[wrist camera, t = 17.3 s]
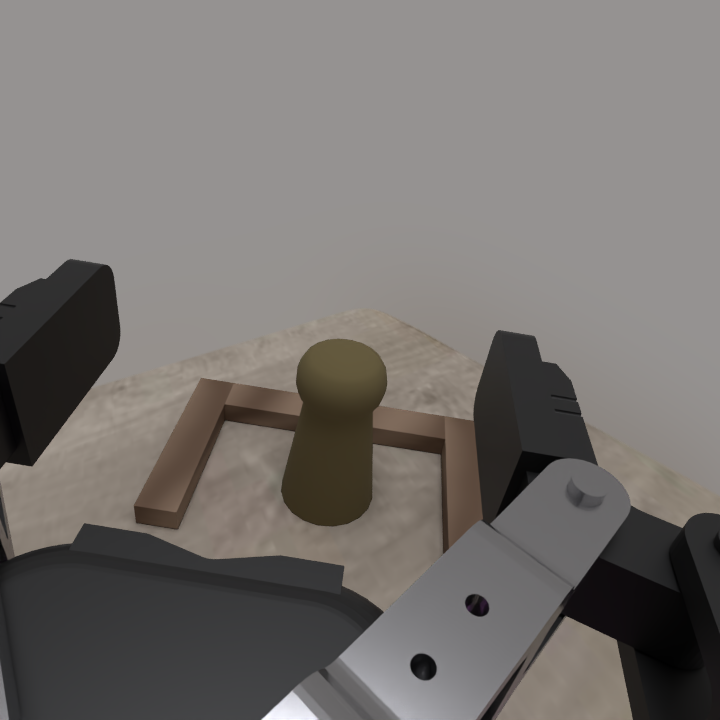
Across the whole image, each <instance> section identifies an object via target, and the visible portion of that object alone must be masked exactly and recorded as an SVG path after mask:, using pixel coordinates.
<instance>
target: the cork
mask: <svg viewBox="0 0 720 720" xmlns="http://www.w3.org/2000/svg"><path fill="white" fill-rule="evenodd" d="M296 385H297V389H298V393H299V395H300V398H301V400H302V401H303V404H302V408H301V412H300V416H299V419H298V423H297V427H296V431H295V435H294V439H293V442H292V446H291V450H290V454H289V458H288V462H287V465H286V469H285V473H284V477H283V481H282V489H281V492H282V496H283V499H284V502H285V504H286V505H287V506H288V508H289V509H290V510H291V512H292V513H294V514H295V515H297V516H298V517H300V518H301V519H302V520H304V521H307V522H310V523H313V524H316V525H323V526H337V525H342V524H347V523H349V522H351V521H353V520H355V519H357V518H359V517H360V516H361V515H362V514H363V513H364V512H365V511H366V510H367V509H368V507H369V505H370V502H371V500H372V454H373V411H374V410H375V409H376V408H377V407H378V406H379V404H380V402H381V400H382V398H383V396H384V394H385V392H386V387H387V374H386V367H385V365H384V363H383V361H382V360H381V358H380V356H379V354H378V353H377V352H375V351H374V350H373V349H372V348H370V347H368V346H366V345H364V344H362V343H360V342H356V341H353V340H346V339H330V340H325V341H322V342H318V343H317V344H315V345H313V346H312V347H310V348H309V349H308V351H307V352H306V353H305V354H304V355H303V357H302V358H301V360H300V362H299V365H298V369H297V377H296Z"/></svg>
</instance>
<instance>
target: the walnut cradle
mask: <svg viewBox="0 0 720 720" xmlns="http://www.w3.org/2000/svg"><path fill="white" fill-rule="evenodd" d="M302 404H303V401H302V400H301V398H300V395H299V393H293V392H287V391H280V390H274V389H268V388H261V387H255V386H249V385H242V384H236V383H230V382H223V381H217V380H211V379H204V378H201V379H200V381H199V383H198V385H197V387H196V389H195V391H194V393H193V394H192V396H191V398H190V400H189V402H188V404H187V406H186V408H185V410H184V412H183V413H182V415H181V417H180V419H179V421H178V423H177V425H176V427H175V429H174V431H173V432H172V434H171V436H170V438H169V440H168V442H167V444H166V446H165V448H164V449H163V451H162V453H161V455H160V457H159V459H158V461H157V463H156V465H155V467H154V468H153V470H152V472H151V474H150V476H149V478H148V480H147V482H146V484H145V486H144V487H143V489H142V491H141V493H140V495H139V497H138V499H137V501H136V503H135V504H134V510H135V517H136V523H142V524H149V525H155V526H161V527H167V528H174V529H178V527H179V525H180V523H181V520H182V518H183V516H184V513H185V511H186V509H187V506H188V504H189V502H190V499H191V497H192V495H193V492H194V490H195V488H196V486H197V483H198V481H199V479H200V476H201V474H202V472H203V469H204V467H205V465H206V462H207V460H208V458H209V455H210V453H211V451H212V448H213V446H214V444H215V441H216V439H217V437H218V434H219V432H220V430H221V428H222V425H223V423H224V421H225V420H229V421H235V422H242V423H248V424H254V425H261V426H267V427H273V428H280V429H286V430H292V431H296V427H297V423H298V419H299V416H300V412H301V408H302ZM373 443H375V444H381V445H387V446H394V447H400V448H406V449H412V450H419V451H425V452H431V453H438V454H441V468H442V513H443V554H444V553H445V552H446V551H447V550H448V549H449V548H450V547H451V546H452V545H453V544H454V543H455V542H456V541H457V540H458V539H459V538H460V537H461V536H463V535H464V534H465V533H466V532H467V531H468V530H469V529H470V528H471V527H472V526H473V525H474V524H475V523H476V522H478V521H480V520H482V519H483V515H482V504H481V493H480V482H479V471H478V460H477V449H476V438H475V427H474V421H471V420H464V419H458V418H452V417H445V416H439V415H433V414H426V413H420V412H413V411H407V410H401V409H394V408H388V407H382V406H378V407H377V408H376V409H375V410H374V411H373Z"/></svg>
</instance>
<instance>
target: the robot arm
mask: <svg viewBox="0 0 720 720" xmlns="http://www.w3.org/2000/svg"><path fill="white" fill-rule="evenodd" d="M119 341H120V322H119V314H118V306H117V298H116V290H115V282H114V276H113V272H112V269H111V268H110V267H109V266H108V265H104V264H98V263H92V262H86V261H79V260H73V259H70V260H67V261H66V262H65V263H64V264H62V265H61V266H60V267H59V268H58V269H57V270H56V271H55V272H54V273H52V274H51V276H49V277H48V278H47V279H42V278H41V279H38V280H36V281H34V282H31V283H29V284H27V285H24V286H22V287H20V288H17V289H16V290H15V291H14V292H12V293H11V294H10V295H9V296H8V297H7V298H5V299H4V300H3V301H2V302H1V303H0V469H1V467H2V466H3V465H4V464H5V462H8V463H14V464H20V465H26V466H33V465H34V463H35V462H36V461H37V459H38V458H39V457H40V455H41V454H42V453H43V451H44V450H45V449H46V447H47V446H48V445H49V443H50V442H51V441H52V439H53V438H54V437H55V435H56V434H57V433H58V431H59V430H60V429H61V427H62V426H63V425H64V423H65V422H66V421H67V419H68V418H69V417H70V415H71V414H72V413H73V411H74V410H75V409H76V407H77V406H78V405H79V403H80V402H81V401H82V399H83V398H84V397H85V395H86V394H87V393H88V391H89V390H90V389H91V387H92V386H93V385H94V383H95V382H96V381H97V379H98V378H99V376H100V375H101V374H102V373H103V371H104V370H105V369H106V367H107V366H108V364H109V363H110V362H111V361H112V359H113V358H114V356H115V354H116V352H117V349H118V346H119ZM576 400H577V398H576V395H575V392H574V388H573V385H572V382H571V380H570V379H569V378H568V377H567V376H566V375H565V373H564V372H563V371H562V370H561V369H560V368H559V367H558V365H557V364H554V363H548V362H542V360H541V356H540V352H539V348H538V345H537V341H536V338H535V337H534V336H531V335H525V334H519V333H513V332H507V331H501V330H498V331H497V332H496V334H495V336H494V339H493V341H492V344H491V347H490V351H489V354H488V357H487V360H486V363H485V366H484V369H483V373H482V376H481V379H480V382H479V385H478V388H477V392H476V397H475V403H474V427H475V438H476V449H477V460H478V471H479V482H480V493H481V504H482V515H483V519H482V520H480V521H478V522H476V523H475V524H474V525H473V526H472V527H471V528H470V529H469V530H468V531H467V532H466V533H465V534H464V535H463V536H461V537H460V538H459V539H458V540H457V541H456V542H455V543H454V544H453V545H452V546H451V547H450V548H449V549H448V550H447V551H446V552H445V553H444V554H443V555H442V556H441V557H440V558H439V559H438V560H437V561H436V562H435V563H434V564H433V565H432V566H431V567H430V568H429V569H428V570H427V571H426V572H425V573H424V574H423V575H422V576H421V577H420V578H419V579H418V580H417V581H416V582H415V583H414V584H413V585H412V586H411V587H410V588H408V589H407V590H406V591H405V592H404V593H403V594H402V595H401V596H400V597H399V598H398V599H397V600H396V601H395V602H394V603H393V604H392V605H391V606H390V607H389V608H388V609H387V610H386V611H385V612H383V611H382V610H381V609H380V608H378V607H377V606H376V605H374V604H373V603H372V602H370V601H369V600H368V599H366V598H364V597H363V596H361V595H359V594H357V593H356V592H354V591H352V590H350V589H347V588H345V587H343V586H342V579H343V572H344V566H341V565H335V564H329V563H323V562H317V561H311V560H305V559H299V558H293V557H287V556H281V555H280V556H264V557H248V558H231V559H207V558H204V557H201V556H199V555H196V554H194V553H192V552H189V551H187V550H185V549H182V548H180V547H178V546H175V545H173V544H171V543H168V542H166V541H164V540H161V539H159V538H157V537H154V536H152V535H150V534H146V533H140V532H134V531H128V530H122V529H116V528H110V527H104V526H98V525H91V524H85V523H84V525H83V526H82V528H81V530H80V531H79V533H78V535H77V536H76V538H75V540H74V542H73V543H72V544H63V545H57V546H50V547H46V548H42V549H38V550H34V551H31V552H28V553H25V554H22V555H19V556H16V557H15V555H14V550H13V545H12V540H11V535H10V530H9V524H8V519H7V514H6V509H5V504H4V498H3V493H2V488H1V483H0V720H496V718H497V717H498V715H499V714H500V712H501V710H502V709H503V707H504V706H505V704H506V703H507V701H508V700H509V698H510V697H511V695H512V694H513V692H514V691H515V689H516V688H517V686H518V685H519V683H520V682H521V680H522V679H523V678H524V676H525V675H526V673H527V672H528V670H529V669H530V668H531V666H532V665H533V663H534V662H535V661H536V659H537V658H538V656H539V655H540V653H541V652H542V651H543V649H544V648H545V646H546V645H547V643H548V642H549V641H550V639H551V638H552V636H553V635H554V634H555V632H556V631H557V629H558V628H559V626H560V625H561V624H562V622H563V621H564V619H565V618H566V616H567V617H570V618H572V619H574V620H576V621H578V622H580V623H582V624H584V625H586V626H589V627H591V628H593V629H595V630H597V631H599V632H601V633H603V634H606V635H608V636H610V637H612V638H614V639H616V640H617V644H618V648H619V653H620V658H621V663H622V668H623V673H624V678H625V683H626V687H627V692H628V697H629V702H630V707H631V712H632V717H633V720H720V515H719V514H713V513H702V514H697V515H695V516H692V517H691V518H690V519H689V520H688V521H687V523H686V524H685V526H684V527H683V528H681V527H678V526H676V525H674V524H671V523H669V522H666V521H664V520H661V519H659V518H656V517H654V516H652V515H649V514H647V513H645V512H642V511H640V510H638V509H636V508H635V507H633V506H631V504H630V499H629V495H628V493H627V491H626V490H625V488H624V487H623V485H622V484H621V483H620V482H619V481H618V480H617V479H616V478H615V477H614V476H613V475H612V474H610V473H609V472H607V471H606V470H605V469H603V468H601V467H599V466H598V464H597V461H596V458H595V455H594V451H593V448H592V445H591V442H590V439H589V436H588V432H587V429H586V426H585V423H584V420H583V417H581V410H580V407H579V404H578V402H576Z"/></svg>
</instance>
